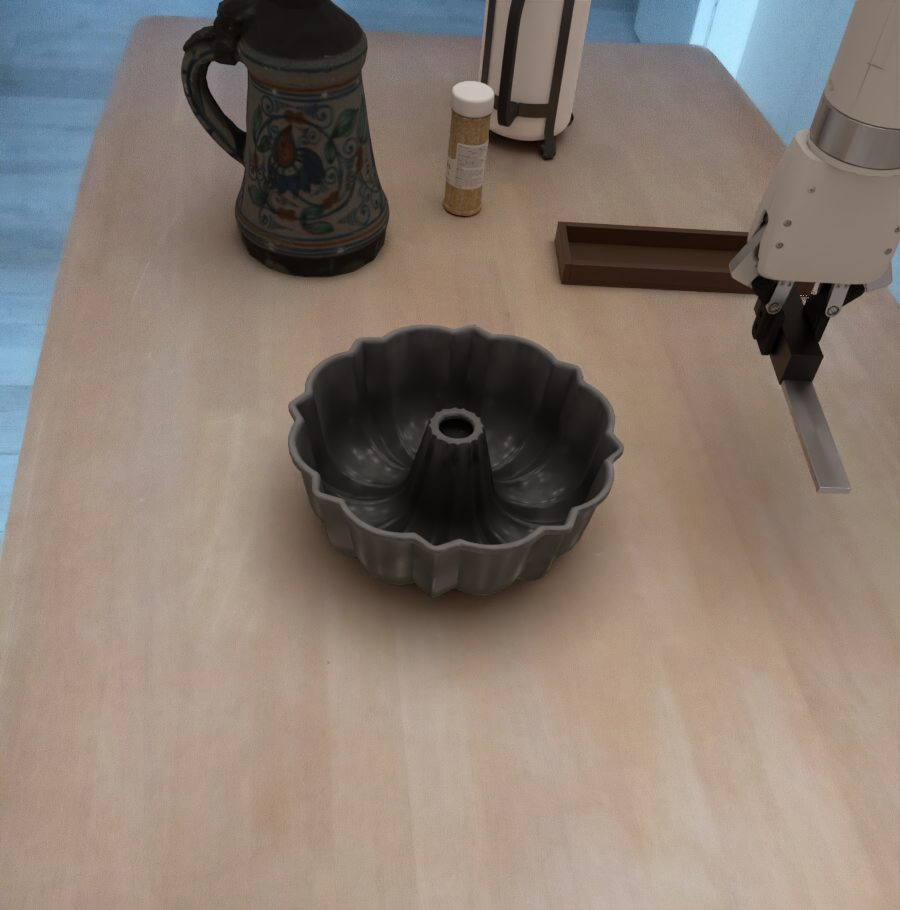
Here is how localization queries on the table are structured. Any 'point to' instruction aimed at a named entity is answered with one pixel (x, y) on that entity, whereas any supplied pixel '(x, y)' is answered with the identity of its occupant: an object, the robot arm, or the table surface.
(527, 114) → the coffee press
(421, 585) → the bundt pan
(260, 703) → the table surface
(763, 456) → the table surface
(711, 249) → the cutlery tray
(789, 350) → the knife
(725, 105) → the table surface
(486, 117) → the sprinkles bottle
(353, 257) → the beer stein
